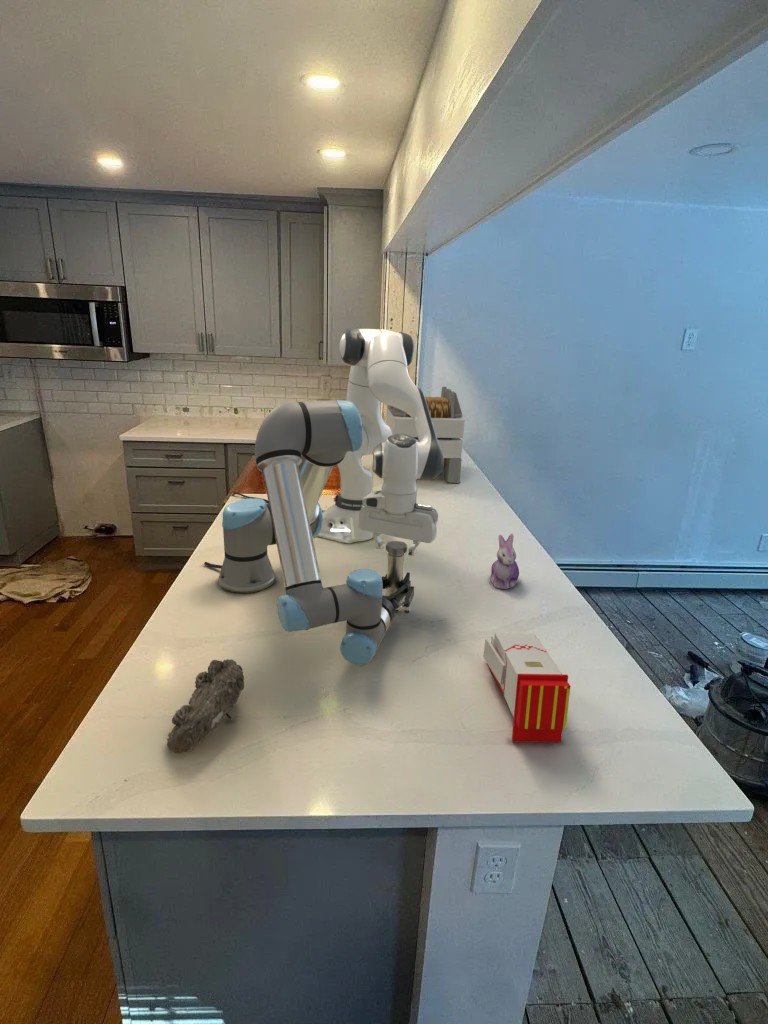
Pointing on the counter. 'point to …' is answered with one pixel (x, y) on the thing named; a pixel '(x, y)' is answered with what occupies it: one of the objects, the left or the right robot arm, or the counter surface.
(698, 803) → the counter surface
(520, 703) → the toy
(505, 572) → the figurine
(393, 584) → the jar
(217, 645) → the counter surface
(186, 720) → the fossil
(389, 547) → the lid
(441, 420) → the transformer
